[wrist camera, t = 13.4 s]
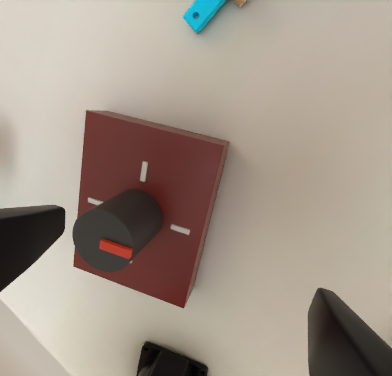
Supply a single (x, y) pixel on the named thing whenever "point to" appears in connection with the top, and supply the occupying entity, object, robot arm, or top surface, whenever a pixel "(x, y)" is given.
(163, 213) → the dial panel
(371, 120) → the top surface
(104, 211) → the timer dial
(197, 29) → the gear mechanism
